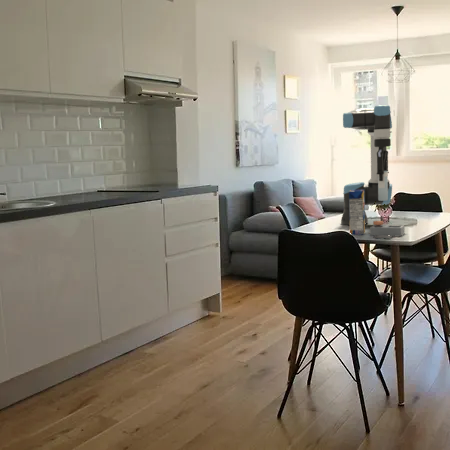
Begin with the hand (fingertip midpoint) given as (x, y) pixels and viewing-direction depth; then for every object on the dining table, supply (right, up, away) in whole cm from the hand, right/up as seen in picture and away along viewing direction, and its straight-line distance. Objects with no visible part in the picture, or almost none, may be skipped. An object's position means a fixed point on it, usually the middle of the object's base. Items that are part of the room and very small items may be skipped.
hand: (382, 187), depth 286 cm
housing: (+6, -23, +13) cm, 27 cm away
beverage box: (-8, -22, +21) cm, 32 cm away
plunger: (+2, -22, +15) cm, 27 cm away
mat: (+1, -24, +3) cm, 24 cm away
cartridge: (0, -6, +1) cm, 6 cm away
